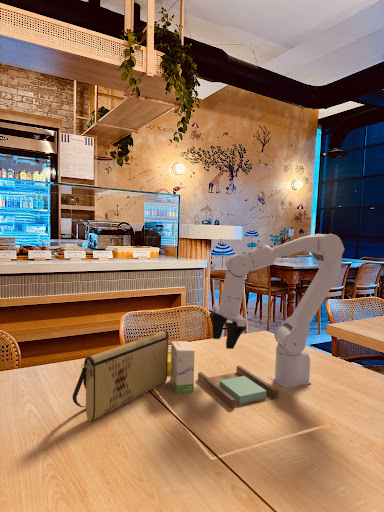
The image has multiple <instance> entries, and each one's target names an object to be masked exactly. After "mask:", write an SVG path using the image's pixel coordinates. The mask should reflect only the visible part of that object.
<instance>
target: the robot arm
mask: <svg viewBox="0 0 384 512" xmlns="http://www.w3.org/2000/svg"><path fill="white" fill-rule="evenodd" d="M301 252H308V253H309V252H310V253H311V255H312V257H314V259H315V261H316V263H317V266H318V270H317V272H316V274H315V275H314V277H313V279H312V280H311V282H310V284H309V286H308V287H307V288H306V291H305V293H304V294H303V295H302V297H301V299H300V300H299V302H298V304H297V306H296V307H295V309H294V311H293V312H292V314H291V315H290V316H288V317H287V318H285V320H284V321H283V323H282V324H280V325H278V326H277V328H276V329H275V331H274V339H275V341H276V342H277V346H276V347H275V364H274V365H275V368H274V374H272V375H268V378H269V379H271V380H272V381H274V382H276V383H277V384H279V385H280V386H282V387H284V388H287V389H288V388H292V387H296V386H300V385H309V384H312V381H311V380H310V374H311V373H310V372H311V359H310V355H309V353H308V352H307V351H306V350H305V348H306V345H307V339H308V337H309V335H310V329H309V326H310V324H311V322H312V320H313V319H314V317H315V316H316V314H317V312H318V311H319V309H320V307H321V306H322V304H323V302H324V301H325V298H326V297H327V296H328V294H329V292H330V290H331V289H332V287H333V286H334V284H335V282H336V281H337V278H338V277H339V275H340V274H341V271H342V259H343V254H344V252H345V247H344V244H343V242H342V240H341V238H340V237H339V236H338V234H337V235H336V234H333V233H329V234H325V233H323V234H322V233H316V234H312V235H306V236H305V235H304V236H301V237H298V238H296V239H292V240H290V241H288V242H284V243H282V244H278V245H277V246H273V247H271V246H269V245H266V244H265V245H264V244H258V245H257V246H256V248H253V249H250V250H247V251H246V250H241V254H238V253H237V254H231V255H230V256H229V257H228V258H227V260H226V262H225V268H226V272H225V278H224V280H223V286H222V292H221V296H220V302H219V304H218V305H217V304H213V306H212V310H211V311H212V313H209V318H210V322H211V330H212V332H211V333H212V339H213V340H220V339H221V337H222V334H223V330H224V326H225V328H226V341H225V346H226V347H225V348H226V349H228V350H230V349H231V350H234V348H235V346H236V344H237V342H238V340H239V338H240V337H241V335H242V334H243V333H244V332H245V330H247V326H246V321H247V319H246V318H245V317H243V316H242V315H241V314H240V309H241V304H242V299H243V294H244V289H245V281H246V276H247V275H248V274H249V272H253V271H257V270H260V269H263V268H266V267H269V266H272V265H273V264H274V263H275V261H276V260H277V259H279V258H283V257H287V256H289V255H294V254H297V253H301ZM227 320H229V321H230V322H227Z"/></svg>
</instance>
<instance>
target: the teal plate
mask: <svg viewBox="0 0 384 512" xmlns="http://www.w3.org/2000/svg"><path fill="white" fill-rule="evenodd" d="M219 387H220V388H222V389H223V390H224V391H225V392H227V393H228V394H229V395H230V396H232V397H233V398H234V399H235V401H236V402H238V403H239V404H243V403H248V402H252V401H257V400H261V399H266V392H267V391H266V390H265V389H263V388H262V387H260V386H259V385H257V384H256V383H254V382H253V381H251V380H250V379H248V378H247V377H245V376H241V377H236V378H230V379H225V380H220V384H219Z"/></svg>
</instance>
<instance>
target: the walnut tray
mask: <svg viewBox="0 0 384 512" xmlns="http://www.w3.org/2000/svg"><path fill="white" fill-rule="evenodd" d="M241 376H245V377H247V378H248V379H250V380H251V381H253V382H254V383H256V384H257V385H259V386H260V387H262V388H263V389H265V390H266V391H267V392H266V399H261V400H257V401H252V402H248V403H243V404H239V403H238V402H236V401H235V399H234V398H233V397H232V396H230V395H229V394H228V393H227V392H225V391H224V390H223V389H222V388H220V387H219V384H220V380H225V379H230V378H236V377H241ZM197 380H198V381H199V382H200V383H201V384H202V385H203V386H205V387H206V388H207V389H208V390H209V391H210V392H212V393H213V395H215V396H216V397H218V399H220V400H221V401H222V402H223V403H225V404H226V405H227V407H229V408H230V409H237V408H240V407H245V406H249V405H253V404H254V405H255V404H258V403H262V402H268V401H271V400H275V399H276V400H277V399H279V389H277V388H275V386H273V385H271V384H269V383H267V382H266V381H265V380H263V379H261V378H260V377H258V376H257V375H255V374H254V373H252V372H250V371H249V370H248V369H246V368H245V367H242V366H241V365H237V366H236V372H232V373H226V374H221V375H214V376H210V377H208V376H207V375H206V374H204V372H201V371H199V372H197Z"/></svg>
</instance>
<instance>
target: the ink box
mask: <svg viewBox="0 0 384 512" xmlns="http://www.w3.org/2000/svg"><path fill="white" fill-rule="evenodd" d="M170 344H171V345H170V346H171V373H169V374H170V375H169V377H170V379H169V381H170V383H171V386H172V387H173V388H172V389H173V390H174V392H175V394H185V393H194V386H195V385H194V384H195V383H194V382H195V349H194V348H193V347H192V345H191V344H190V343H189V341H186V340H185V341H184V340H183V341H182V340H181V341H179V340H178V341H177V340H176V341H171V343H170Z"/></svg>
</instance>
